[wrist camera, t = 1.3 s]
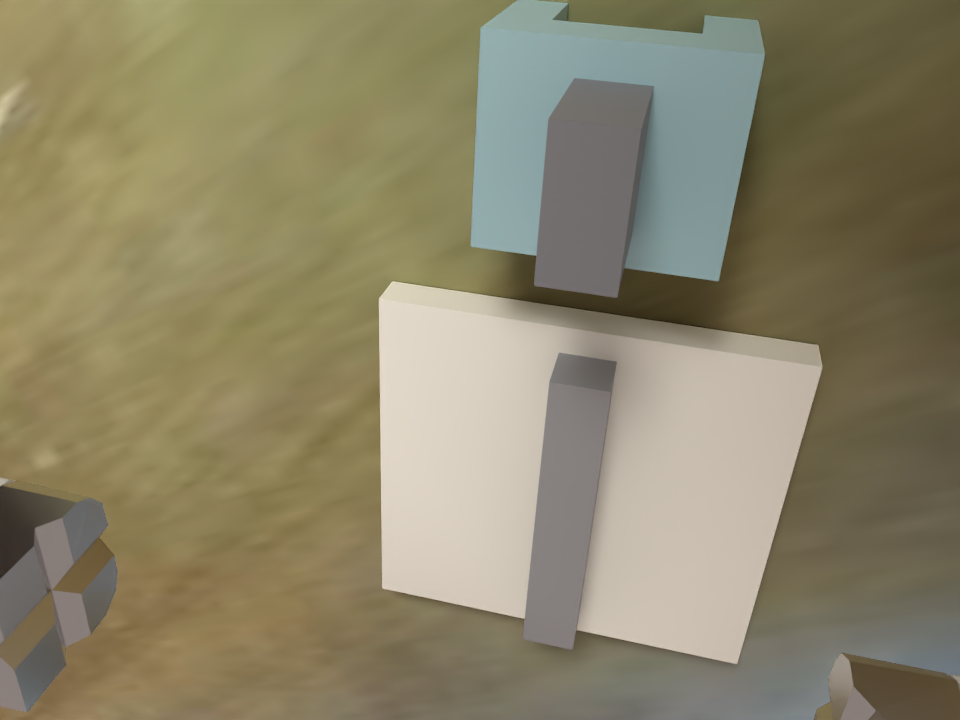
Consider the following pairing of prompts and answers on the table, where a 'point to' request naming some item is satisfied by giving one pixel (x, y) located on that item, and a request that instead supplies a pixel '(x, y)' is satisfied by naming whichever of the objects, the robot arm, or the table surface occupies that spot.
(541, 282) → the block
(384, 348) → the cleat board
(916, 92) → the table surface
